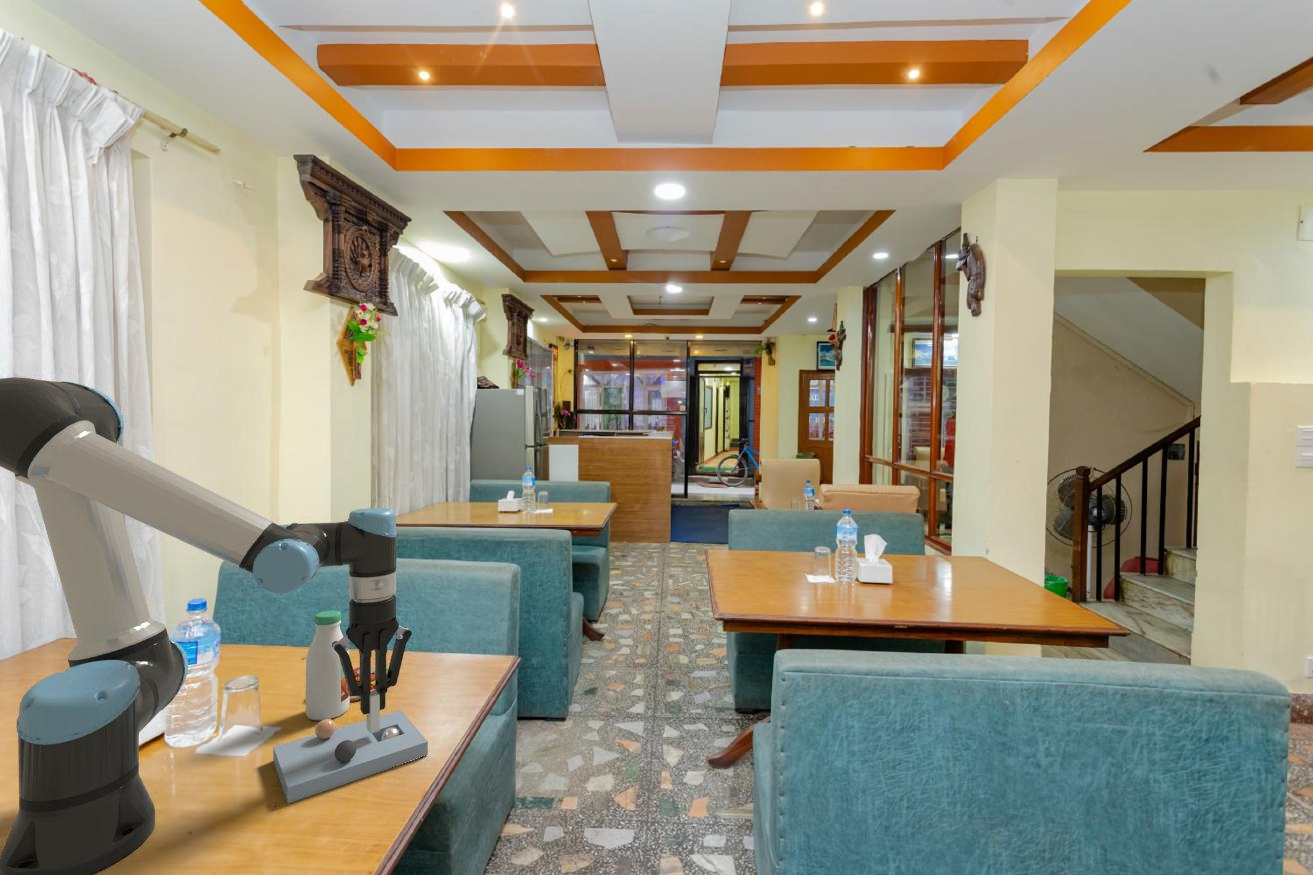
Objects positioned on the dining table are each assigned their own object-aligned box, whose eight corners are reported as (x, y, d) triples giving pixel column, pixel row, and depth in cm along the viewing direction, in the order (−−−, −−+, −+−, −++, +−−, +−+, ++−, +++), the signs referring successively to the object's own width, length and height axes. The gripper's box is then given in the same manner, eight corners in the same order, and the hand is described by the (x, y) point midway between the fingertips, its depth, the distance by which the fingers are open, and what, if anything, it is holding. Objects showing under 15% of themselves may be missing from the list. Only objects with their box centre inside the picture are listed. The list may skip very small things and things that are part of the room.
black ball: (337, 768, 95) (337, 748, 95) (332, 759, 98) (332, 740, 98) (358, 761, 97) (358, 741, 97) (353, 752, 100) (353, 734, 100)
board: (287, 803, 90) (287, 787, 90) (273, 760, 102) (273, 746, 102) (427, 755, 104) (427, 741, 104) (400, 722, 115) (400, 709, 115)
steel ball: (386, 732, 105) (404, 730, 107) (381, 725, 107) (399, 723, 109) (381, 750, 104) (400, 749, 106) (376, 743, 107) (394, 742, 109)
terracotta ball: (317, 744, 102) (317, 726, 102) (313, 737, 105) (313, 719, 105) (337, 738, 104) (337, 720, 104) (333, 731, 107) (333, 713, 107)
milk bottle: (330, 723, 114) (330, 620, 114) (296, 719, 116) (296, 617, 116) (358, 705, 122) (358, 608, 122) (325, 701, 124) (325, 606, 123)
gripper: (336, 608, 97) (336, 750, 98) (418, 594, 106) (417, 725, 106) (326, 598, 103) (327, 732, 103) (404, 586, 111) (404, 710, 112)
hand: (372, 728), depth 105 cm, fingers closed
